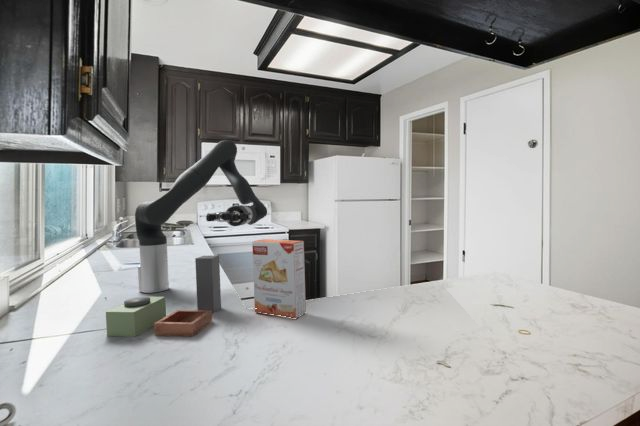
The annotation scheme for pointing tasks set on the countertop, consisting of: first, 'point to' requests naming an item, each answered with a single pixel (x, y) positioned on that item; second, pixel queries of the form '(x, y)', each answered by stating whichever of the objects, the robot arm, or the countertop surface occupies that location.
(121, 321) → the green block with knob
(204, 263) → the block
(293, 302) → the cracker box
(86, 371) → the countertop surface
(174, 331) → the collar
